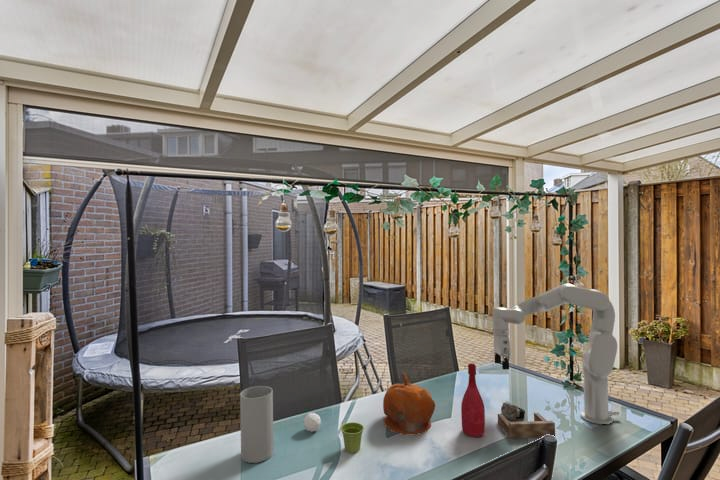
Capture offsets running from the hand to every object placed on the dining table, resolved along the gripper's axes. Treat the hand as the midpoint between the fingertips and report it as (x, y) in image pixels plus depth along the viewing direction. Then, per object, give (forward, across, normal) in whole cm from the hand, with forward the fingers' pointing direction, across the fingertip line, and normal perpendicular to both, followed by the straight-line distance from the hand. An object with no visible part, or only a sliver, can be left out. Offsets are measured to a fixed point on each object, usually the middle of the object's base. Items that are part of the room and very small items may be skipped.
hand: (501, 366), depth 187 cm
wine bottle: (+21, -25, +24) cm, 40 cm away
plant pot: (+21, -34, +76) cm, 86 cm away
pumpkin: (+21, -13, +50) cm, 56 cm away
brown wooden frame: (+20, -24, 0) cm, 31 cm away
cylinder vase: (+21, -36, +114) cm, 122 cm away
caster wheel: (+21, -10, 0) cm, 23 cm away
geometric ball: (+21, -18, +94) cm, 98 cm away
